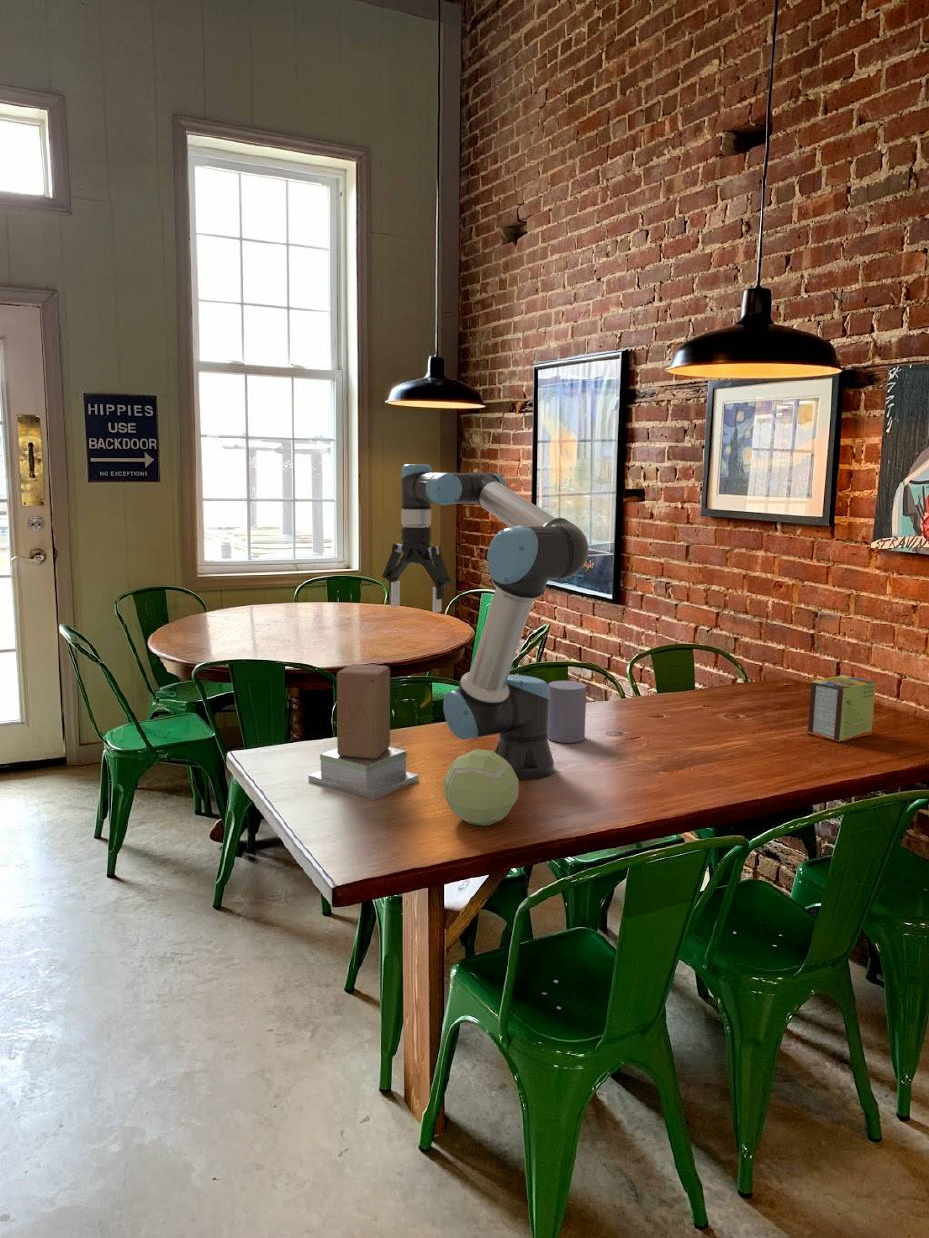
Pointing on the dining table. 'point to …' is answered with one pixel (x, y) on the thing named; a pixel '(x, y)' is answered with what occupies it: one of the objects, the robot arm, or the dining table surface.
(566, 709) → the container
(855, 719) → the protein box
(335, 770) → the stand
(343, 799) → the dining table surface
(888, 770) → the dining table surface
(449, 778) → the tennis ball
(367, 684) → the wooden block
